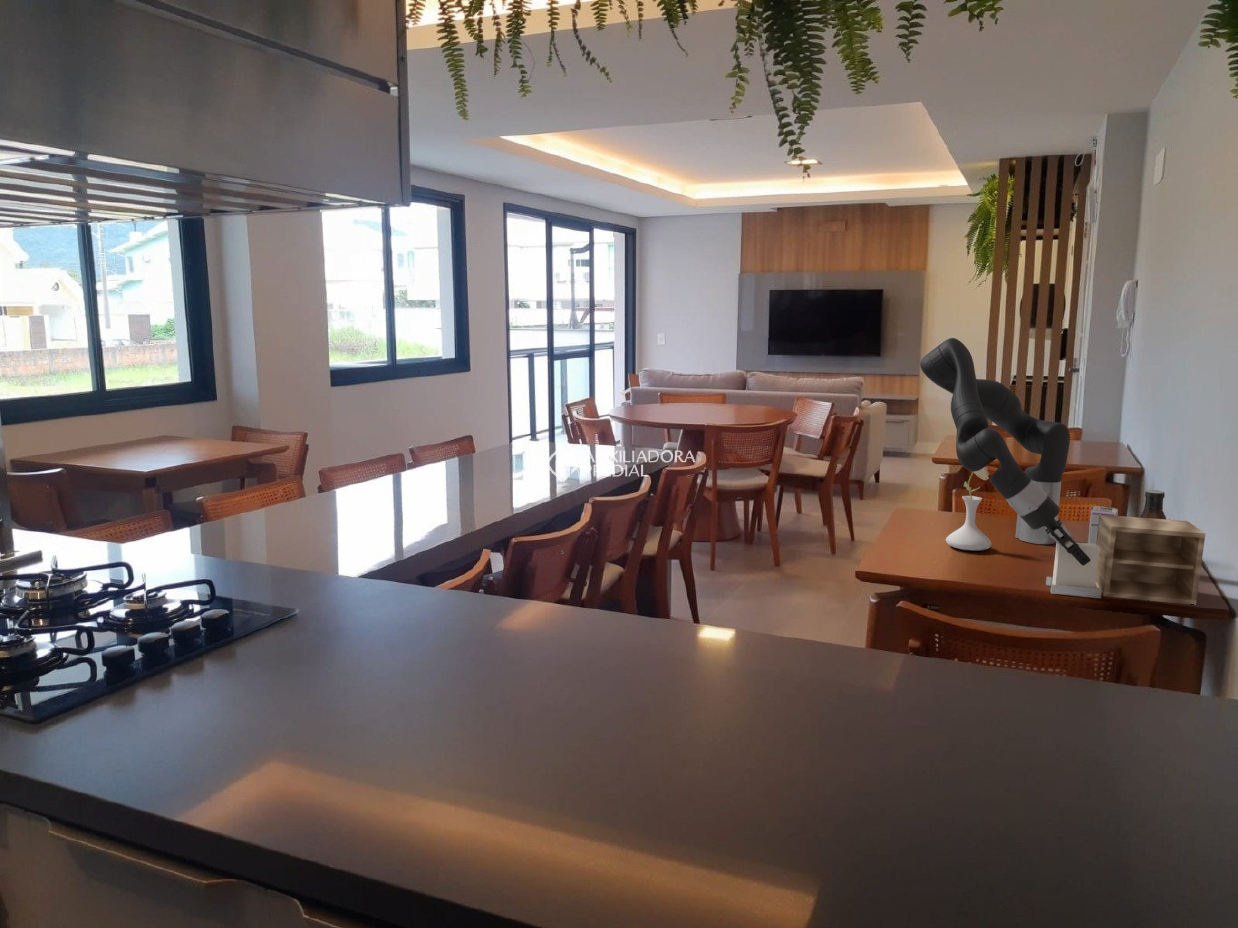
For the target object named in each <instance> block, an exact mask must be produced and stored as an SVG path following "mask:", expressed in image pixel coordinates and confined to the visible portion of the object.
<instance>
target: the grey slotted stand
mask: <svg viewBox="0 0 1238 928" xmlns="http://www.w3.org/2000/svg"><path fill="white" fill-rule="evenodd" d="M1045 579H1046V580H1045V585H1046V586H1047V587H1050V594H1051V595H1052V594H1053V595H1060V596H1061V595H1062V596H1072V597H1082V598H1093V599H1102V593H1101V591H1102V590H1101V589H1099V588H1097V587H1095V588H1088V587H1078V586H1067V585H1057V584H1052V581H1053V576H1050V575H1049V576H1048V575H1047V576H1046V578H1045Z"/></svg>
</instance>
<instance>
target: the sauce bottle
mask: <svg viewBox="0 0 1238 928" xmlns="http://www.w3.org/2000/svg"><path fill="white" fill-rule="evenodd" d="M1144 497H1145V500H1144V501H1145V502H1144V506H1143V507H1144V509H1143V510H1142V512H1141V514H1140V516H1139V518H1152V519H1165V520H1167V516H1166V515H1165V513H1164V507H1163V506H1164V499H1165V492H1164V491H1162V490H1157V489H1156V490H1155V489H1147V490H1145V493H1144Z"/></svg>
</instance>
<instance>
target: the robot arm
mask: <svg viewBox="0 0 1238 928" xmlns="http://www.w3.org/2000/svg"><path fill="white" fill-rule="evenodd" d="M919 365H920V369H921V371H922V373H923V374H924V375H925V377H926V378H928V380H930V381H931V382H932V383H934V384H935V385H937V387H940V388H941V389H944V390H945V391H947V392H949V393H950V394H952V396H951V400H950V401H951V402H950V413H951V416H952V419H953V423H954V426H955V429H956V435H955V436H956V441H955V450H956V451H955V453H956V457H957V459H958V461H959V463H960V465H961V466H962V468H964V469H966V470H967V471H969V472H973V471H979V470H981V469H982V468H984V467H985V466H986V467H987V466H988V465H990V464H992V462H994V461H995V460H998V462H999V467H998V468H997V469H996V470H995V471H994V472H993V473H992V474H991V476H990V477H989V482H990V484H991V485H992V486H993V488H995V490H996V491H997V492H998V493H999V494H1000V495H1001V496H1002V497H1003V498H1004V499H1005V501H1007V503H1008V504H1009V506H1010V507H1011V508H1012V509H1013V510H1014V511H1015V513H1016V514H1017V518H1016V526H1015V538H1016V539H1019V540H1020V541H1023V542H1026V543H1029V544H1036V545H1051V544H1056V542H1057V543H1058V544H1059V545H1060V546H1061V547H1064V548H1065V549H1066V550H1067V552H1068V553H1070V554H1072V555H1073V556H1074V557H1075V559H1076V560H1077V561H1078V562H1079V563H1080V564H1081V565H1083V566H1084V565H1086V564H1087V563H1088V562H1090V558H1089V557H1088V556H1087V555H1086V554H1085V553H1084V552H1083V551H1082V549H1081V548H1080V547H1079V545H1078V544H1077V543H1078V542H1076V541H1075V537H1074V535H1073V534H1072V533H1071V532H1070V531H1069V530H1068V528H1067V526H1066V525H1065V524H1064V523H1063V521H1062V520H1061V519H1058V518H1059V514H1060V512H1061V508H1060V498H1061V489H1062V481H1063V480H1062V478H1063V476H1064V473H1065V471H1066V467H1067V461H1068V455H1069V450H1070V441H1071V434H1070V431H1069V428H1068V426H1067V425H1065V424H1063V423H1061V422H1057V421H1056V422H1054V421H1050V420H1043V419H1038V418H1035V417H1033V416H1032V415H1030V414H1028V413H1027V412H1026V411H1024V410H1023V409H1022V404H1021V401H1020V399H1019V397H1018V395H1017V394H1015V392H1014V391H1012V390H1011V389H1010V388H1008V387H1007V386H1006V385H1004V384H1003V383H1001V382H999V381H997V380H992V379H981V378H977V375H976V369H975V363H974V359H973V357H972V354H971V352H970V350H969V349H968V348H967V346H966V345H965V344H964V343H963V342H962V341H961V340H959V339H957V338H954V337H950V338H948V339H945V340H944V341H943V342H941V343H940V344H939V345H937V346H936V347H934V348H933V349H932V350H930V352H928V353H927V354H925V355H924V356H923V357H922V359H920V363H919ZM988 420H989V421H990V422H992V423H993V424H995V425H996V426H998V427H999V428H1001V429H1002V430H1004V431H1005V432H1007V433H1008V434H1009V435H1010V436H1011V437H1012V438H1013V440H1015V441H1016V442H1017V443H1018V444H1019V445H1020V446H1021V447H1022V448H1024V449H1025V450H1027V452H1030V453H1031V454H1038V455H1040V460H1039V463H1038V464H1036V465H1032V466H1027V468H1025V470H1023V469H1022V468H1021V466H1020V465H1019V464H1018V462H1017V461H1016V459H1015V458H1014V455H1013V454H1012V453H1011V451H1010V449H1009V447H1008V445H1007V443H1006V441H1005V438H1004V437H1003V435H1002V434H1001V433H1000V432H999V431H997V430H996V429H993V428H989V421H988ZM1069 542H1072V543H1073V545H1071V546H1070V547H1069V548H1068V547H1067V546H1066V544H1068V543H1069Z"/></svg>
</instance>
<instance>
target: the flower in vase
mask: <svg viewBox="0 0 1238 928" xmlns="http://www.w3.org/2000/svg"><path fill="white" fill-rule="evenodd" d="M988 470H989V469H988V467H987V466H985V467H984V468H982V469H981V470H979V471H971V475H970V476H969V479H968V480H967V481H964V484H963V487H964V488H966V489H967V490H968V492H969V493H968V494H969V495H963V496H962V497H961V499H962V500H963V502H964V504H965V508H966V513H965V514H966V516H965V521H964V524H963V525H962V526H961V527H959V528H957V529H956V530H954V531H953V532H952V533H949V535H947V536H946V538H945V541H946V544H948V545H950V546H951V547H952V548H956V549H959V550H962V551H972V552H973V551H985V550H988V549H990V548H991V546H992V545H993V544H992V541H991V540H990V539H989V537H988V536H986V534H985V533H984V532H982V531H981V530H980V529H979V528H978V527H977V524H976V514H977V509H978V506H979V504H980V503H981V502H982V501H983V497H980V496H974V495H972V493H973V492H974V491H977V490H980V488H981V486H979V485H978V487H976V488H973V489H972V490H971V487H970V482H971V479H972V476H974V474H975V475H976V476H977V478H979V479H981V480H983V481H987V480H990V477H989V475H990V471H988Z"/></svg>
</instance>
